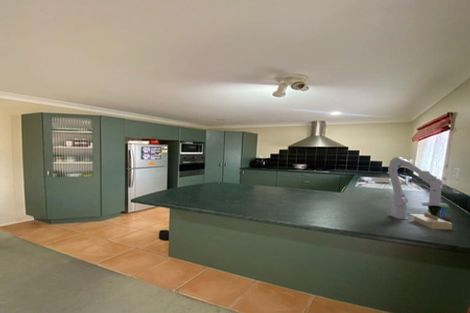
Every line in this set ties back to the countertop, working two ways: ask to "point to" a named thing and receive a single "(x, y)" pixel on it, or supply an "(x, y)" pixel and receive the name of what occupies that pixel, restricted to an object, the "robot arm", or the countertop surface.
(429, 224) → the mailer box
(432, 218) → the mailer lid
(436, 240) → the countertop surface
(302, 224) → the countertop surface
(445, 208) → the snack cup
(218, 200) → the countertop surface
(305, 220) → the countertop surface
